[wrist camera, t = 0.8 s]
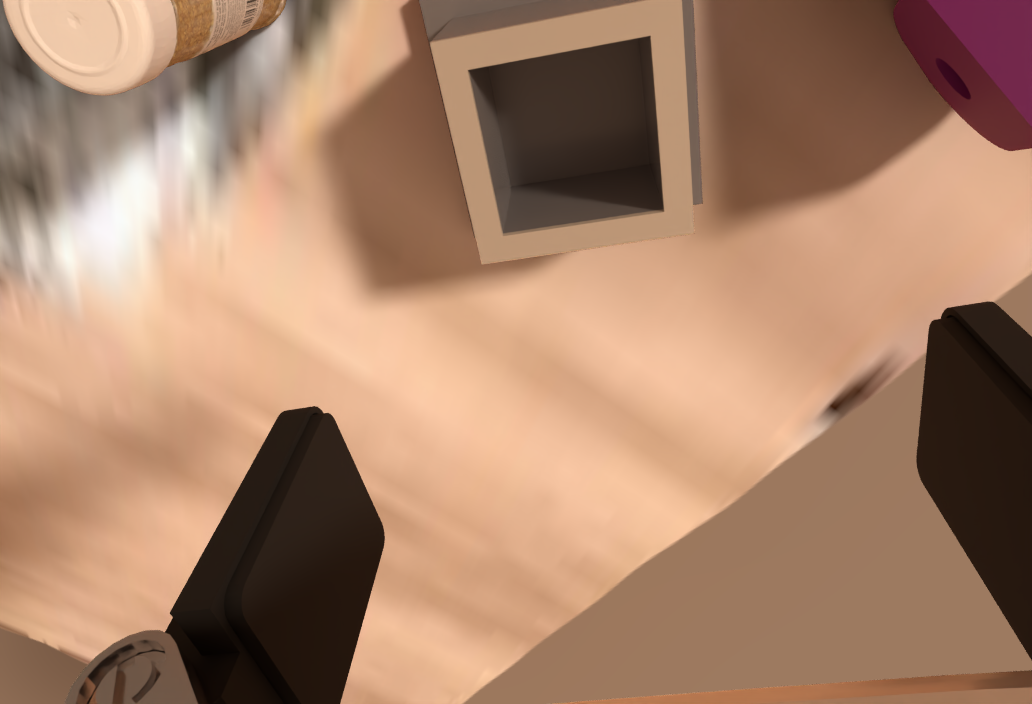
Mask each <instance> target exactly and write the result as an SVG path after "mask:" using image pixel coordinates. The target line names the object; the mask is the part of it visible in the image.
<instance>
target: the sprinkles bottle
mask: <svg viewBox="0 0 1032 704" xmlns="http://www.w3.org/2000/svg"><path fill="white" fill-rule="evenodd" d="M3 4H4V9H5V13H6V17H7V19H8V22H9V24H10V26H11V29H12V31H13V33H14V35H15V37H16V38H17V40H18V41H19V43H20V45H21V46H22V48H23V49H24V50H25V51H26V53H27V54H28V55H29V56H30V58H31V59H32V60H33V61H34V62H35V63H36V64H37V65H38V66H39V67H40V68H41V69H42V70H43V71H45V72H46V73H47V74H48V75H50V76H51V77H52V78H54V79H55V80H57V81H59V82H60V83H62V84H64V85H66V86H68V87H70V88H72V89H75V90H77V91H80V92H83V93H88V94H93V95H114V94H118V93H122V92H125V91H128V90H130V89H133V88H135V87H138V86H140V85H143V84H145V83H147V82H149V81H151V80H153V79H154V78H156V77H157V76H158V75H159V74H161V73H162V72H163V70H164V69H165V68H166V67H169V66H171V65H174V64H176V63H178V62H183V61H187V60H189V59H192V58H194V57H196V56H198V55H201V54H203V53H205V52H207V51H210V50H212V49H214V48H216V47H219V46H221V45H223V44H225V43H227V42H230V41H232V40H234V39H236V38H238V37H241V36H242V35H244V34H246V33H247V32H248V31H249V30H256V29H260V28H262V27H265V26H268V25H270V24H271V23H272V22H274V21H275V20H276V19H277V18H278V16H279V15H280V14H281V13H282V11H283V9H284V7H285V4H286V0H3Z"/></svg>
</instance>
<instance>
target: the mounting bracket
mask: <svg viewBox="0 0 1032 704" xmlns="http://www.w3.org/2000/svg"><path fill="white" fill-rule="evenodd" d="M893 15H894V20H895V24H896V27H897V29H898V32H899V34H900V36H901V38H902V40H903V42H904V43H905V45H906V46H907V48H908V49H909V51H910V52H911V54H912V55H913V57H914V58H915V60H916V61H917V63H918V64H919V66H920V67H921V69H922V70H923V72H924V73H925V75H926V77H927V78H928V80H929V81H930V82H931V84H932V85H933V86H934V88H935V89H936V90H937V91H938V92H939V94H940V95H941V96H942V97H943V98H944V99H945V101H946V102H947V103H948V104H949V105H950V106H951V107H952V108H953V109H954V110H955V111H956V112H957V113H958V114H959V115H960V116H961V117H962V118H963V119H964V120H965V121H966V122H967V123H968V124H969V125H970V126H971V127H972V128H973V129H974V130H976V131H977V132H978V133H979V134H980V135H982V136H983V137H984V138H986V139H987V140H988V141H990V142H991V143H993V144H994V145H996V146H998V147H1000V148H1002V149H1004V150H1008V151H1015V150H1022V149H1030V148H1032V0H899V1H898V3H897V4H896V6H895V8H894V11H893Z"/></svg>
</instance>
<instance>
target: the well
mask: <svg viewBox="0 0 1032 704" xmlns="http://www.w3.org/2000/svg"><path fill="white" fill-rule="evenodd" d="M419 3H420V7H421V11H422V15H423V20H424V24H425V28H426V33H427V37H428V41H429V45H430V50H431V54H432V58H433V62H434V67H435V71H436V75H437V79H438V84H439V88H440V92H441V97H442V101H443V105H444V109H445V114H446V118H447V122H448V126H449V131H450V135H451V139H452V143H453V148H454V152H455V156H456V160H457V165H458V169H459V173H460V178H461V182H462V186H463V190H464V195H465V199H466V203H467V207H468V212H469V216H470V220H471V224H472V229H473V233H474V237H475V238H476V242H477V247H478V251H479V255H480V260H481V264H482V265H483V264H490V263H497V262H504V261H511V260H517V259H524V258H531V257H538V256H545V255H552V254H559V253H565V252H572V251H579V250H586V249H593V248H600V247H607V246H614V245H620V244H627V243H634V242H641V241H648V240H655V239H662V238H668V237H675V236H682V235H689V234H695V232H694V213H693V205H697V204H703V200H702V179H701V157H700V136H699V115H698V93H697V72H696V50H695V29H694V8H693V0H419Z"/></svg>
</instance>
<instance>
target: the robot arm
mask: <svg viewBox="0 0 1032 704" xmlns="http://www.w3.org/2000/svg"><path fill="white" fill-rule="evenodd" d="M917 468H918V472H919V476H920V478H921V481H922V483H923V485H924V486H925V488H926V489H927V491H928V493H929V494H930V496H931V497H932V499H933V501H934V502H935V504H936V505H937V507H938V509H939V510H940V512H941V514H942V515H943V517H944V519H945V520H946V522H947V523H948V525H949V527H950V528H951V530H952V532H953V533H954V535H955V536H956V538H957V540H958V541H959V543H960V545H961V546H962V548H963V549H964V551H965V553H966V554H967V556H968V558H969V559H970V561H971V562H972V564H973V566H974V567H975V569H976V570H977V572H978V574H979V575H980V577H981V578H982V580H983V582H984V584H985V585H986V587H987V588H988V590H989V591H990V593H991V595H992V596H993V598H994V600H995V601H996V603H997V605H998V606H999V608H1000V609H1001V611H1002V613H1003V614H1004V616H1005V617H1006V619H1007V621H1008V622H1009V624H1010V626H1011V627H1012V629H1013V630H1014V632H1015V634H1016V635H1017V637H1018V639H1019V640H1020V642H1021V644H1022V645H1023V647H1024V648H1025V650H1026V652H1027V653H1028V655H1029V657H1030V658H1031V659H1032V337H1031V336H1030V335H1029V334H1028V333H1027V332H1026V331H1025V330H1024V329H1023V328H1021V326H1019V325H1018V324H1017V323H1016V322H1015V321H1014V320H1013V319H1012V318H1011V317H1010V316H1009V315H1008V314H1007V313H1006V312H1004V311H1003V310H1002V309H1001V308H1000V307H999V306H998V305H997V304H995V303H994V302H982V303H976V304H969V305H963V306H957V307H950V308H947V309H945V310H944V312H943V314H942V316H941V319H937V320H933V321H932V322H931V324H930V327H929V333H928V344H927V354H926V364H925V376H924V385H923V396H922V406H921V417H920V427H919V437H918V447H917ZM384 540H385V536H384V529H383V525H382V522H381V520H380V518H379V516H378V514H377V511H376V509H375V507H374V505H373V503H372V500H371V498H370V496H369V494H368V492H367V489H366V487H365V485H364V483H363V481H362V479H361V476H360V474H359V472H358V470H357V468H356V465H355V463H354V461H353V459H352V457H351V454H350V452H349V450H348V448H347V446H346V443H345V441H344V439H343V437H342V435H341V432H340V430H339V428H338V426H337V424H336V421H335V419H334V418H333V416H332V415H331V414H329V413H323V412H322V410H321V409H320V408H318V407H315V406H313V407H307V408H300V409H294V410H287V411H284V412H282V413H281V414H280V415H279V416H278V418H277V420H276V422H275V423H274V425H273V427H272V429H271V431H270V432H269V434H268V436H267V438H266V440H265V442H264V443H263V445H262V447H261V449H260V451H259V452H258V454H257V456H256V458H255V460H254V461H253V463H252V465H251V467H250V469H249V470H248V472H247V474H246V476H245V478H244V480H243V481H242V483H241V485H240V487H239V489H238V490H237V492H236V494H235V496H234V498H233V499H232V501H231V503H230V505H229V507H228V508H227V510H226V512H225V514H224V516H223V518H222V519H221V521H220V523H219V525H218V527H217V528H216V530H215V532H214V534H213V536H212V537H211V539H210V541H209V543H208V545H207V547H206V548H205V550H204V552H203V554H202V556H201V557H200V559H199V561H198V563H197V565H196V566H195V568H194V570H193V572H192V574H191V575H190V577H189V579H188V581H187V583H186V585H185V586H184V588H183V590H182V592H181V594H180V595H179V597H178V599H177V601H176V603H175V604H174V606H173V608H172V610H171V612H170V614H171V615H172V617H173V619H172V620H171V622H170V624H169V626H168V628H167V630H166V631H165V632H163V631H160V630H148V631H142V632H139V633H136V634H132V635H129V636H127V637H125V638H124V639H122V640H120V641H118V642H116V643H114V644H112V645H111V646H110V647H108V648H107V649H106V650H104V651H103V652H102V653H100V654H99V655H97V656H96V657H95V658H94V659H93V660H92V661H91V662H90V663H89V664H88V665H87V666H86V667H85V668H84V669H83V671H82V672H81V674H80V675H79V676H78V678H77V679H76V681H75V682H74V683H73V685H72V686H71V688H70V691H69V693H68V696H67V698H66V700H65V704H340V702H341V699H342V695H343V691H344V688H345V684H346V681H347V677H348V673H349V670H350V666H351V663H352V659H353V655H354V652H355V648H356V645H357V641H358V637H359V634H360V630H361V627H362V623H363V619H364V616H365V612H366V609H367V605H368V602H369V598H370V594H371V591H372V587H373V584H374V580H375V576H376V573H377V569H378V566H379V562H380V558H381V555H382V551H383V548H384ZM553 704H1032V670H1031V671H1013V672H996V673H995V672H994V673H976V674H957V675H941V676H926V677H912V678H898V679H883V680H869V681H855V682H840V683H826V684H812V685H797V686H783V687H768V688H755V689H740V690H727V691H713V692H700V693H687V694H672V695H659V696H645V697H633V698H619V699H606V700H592V701H579V702H567V703H553Z"/></svg>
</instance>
